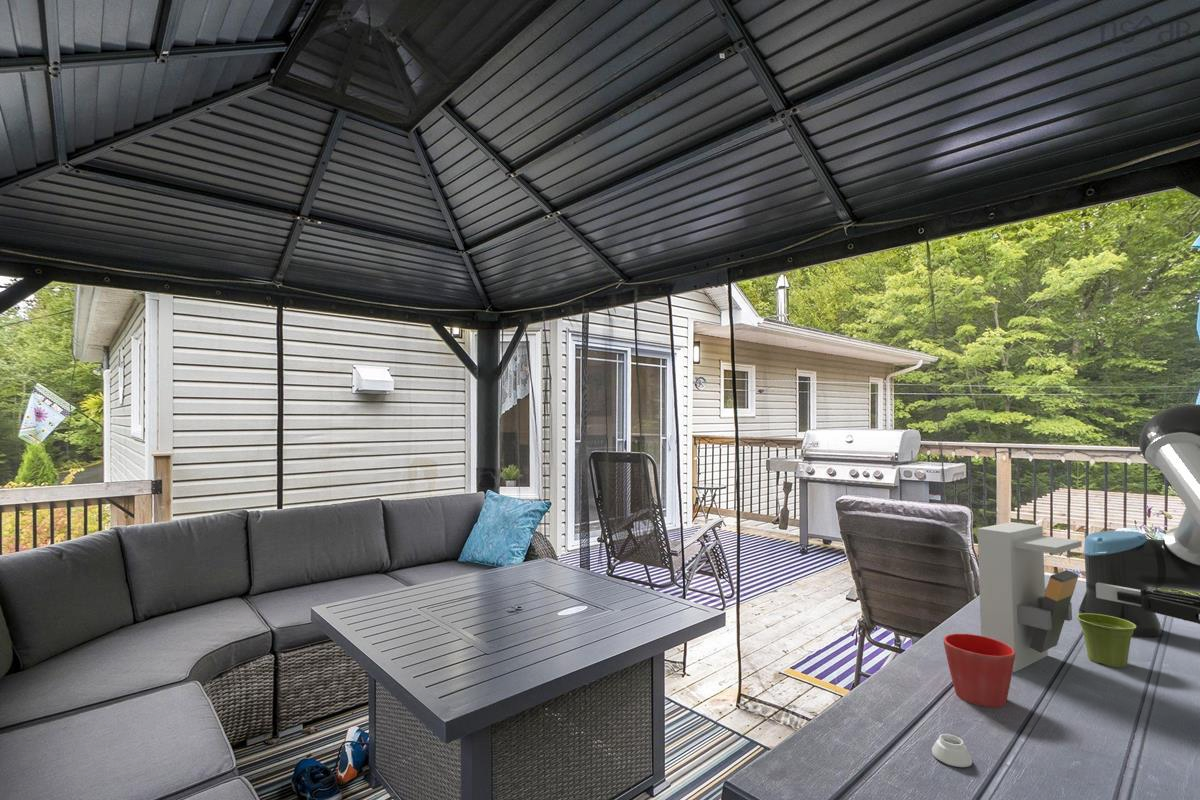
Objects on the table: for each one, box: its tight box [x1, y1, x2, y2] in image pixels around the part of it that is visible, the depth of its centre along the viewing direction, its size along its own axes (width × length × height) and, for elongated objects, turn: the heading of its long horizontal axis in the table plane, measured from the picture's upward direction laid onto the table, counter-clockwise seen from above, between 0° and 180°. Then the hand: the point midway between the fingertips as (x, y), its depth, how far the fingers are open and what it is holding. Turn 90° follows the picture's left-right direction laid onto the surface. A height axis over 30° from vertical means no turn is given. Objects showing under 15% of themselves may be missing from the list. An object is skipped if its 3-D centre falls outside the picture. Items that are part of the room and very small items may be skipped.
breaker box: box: [977, 521, 1083, 673], centre depth 117 cm, size 16×13×28 cm
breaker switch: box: [1030, 569, 1079, 653], centre depth 114 cm, size 9×2×16 cm, turn 122°
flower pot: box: [942, 633, 1015, 708], centre depth 102 cm, size 11×11×10 cm
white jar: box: [931, 733, 973, 768], centre depth 83 cm, size 5×3×5 cm
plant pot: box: [1076, 613, 1136, 668], centre depth 118 cm, size 9×9×9 cm
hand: (1097, 590), depth 108 cm, fingers closed
